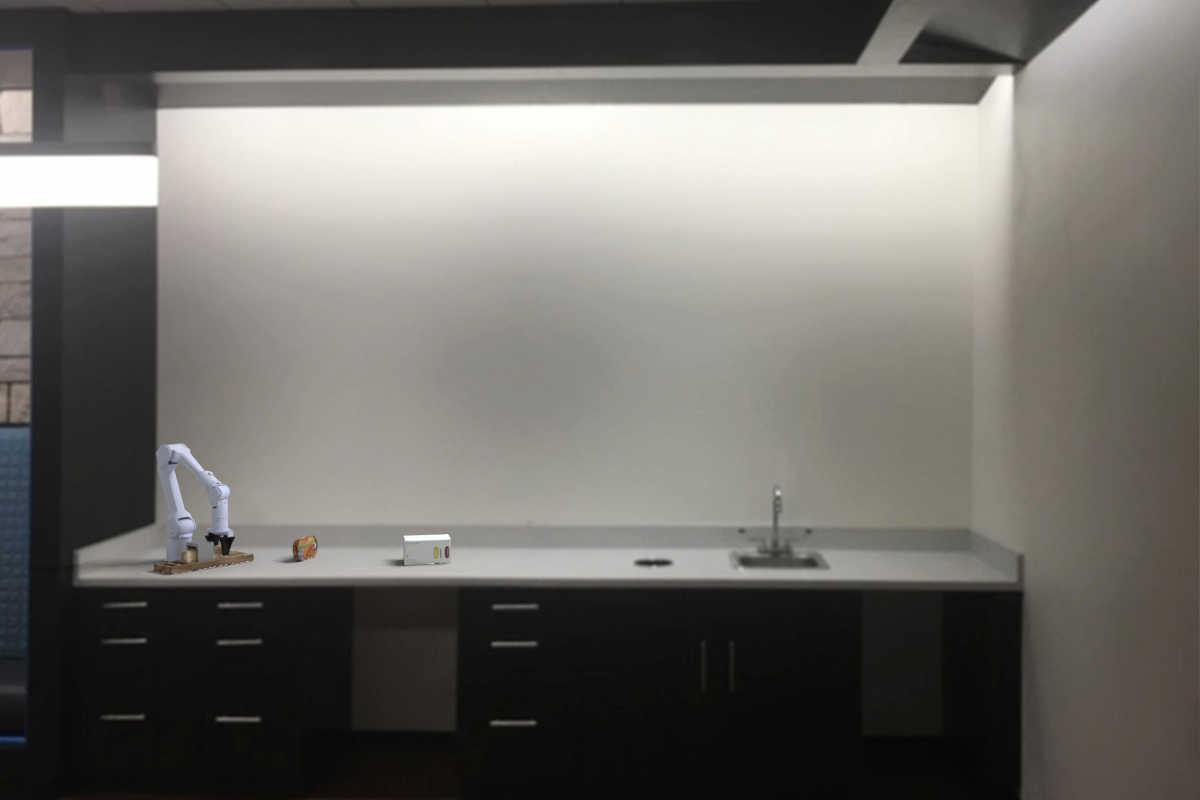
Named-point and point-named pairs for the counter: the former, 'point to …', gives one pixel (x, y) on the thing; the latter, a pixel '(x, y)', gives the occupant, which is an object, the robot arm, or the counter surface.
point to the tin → (305, 548)
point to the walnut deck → (202, 563)
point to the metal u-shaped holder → (202, 549)
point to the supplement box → (427, 549)
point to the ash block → (191, 554)
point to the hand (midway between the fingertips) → (220, 554)
